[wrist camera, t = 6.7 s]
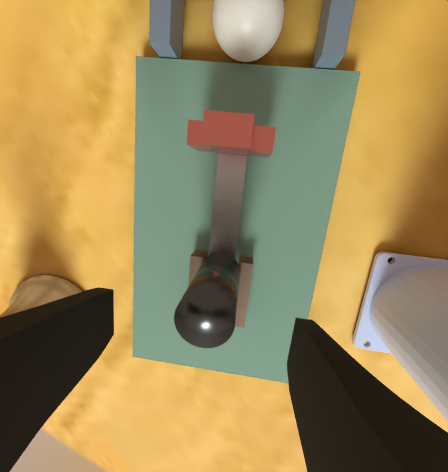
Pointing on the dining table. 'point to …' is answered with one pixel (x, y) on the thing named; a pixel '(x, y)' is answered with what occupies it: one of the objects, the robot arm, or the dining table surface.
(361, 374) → the robot arm
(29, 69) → the dining table surface
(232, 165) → the kicker rod
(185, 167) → the mat
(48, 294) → the hand bell
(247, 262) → the rail guides
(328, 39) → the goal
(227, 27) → the ball
